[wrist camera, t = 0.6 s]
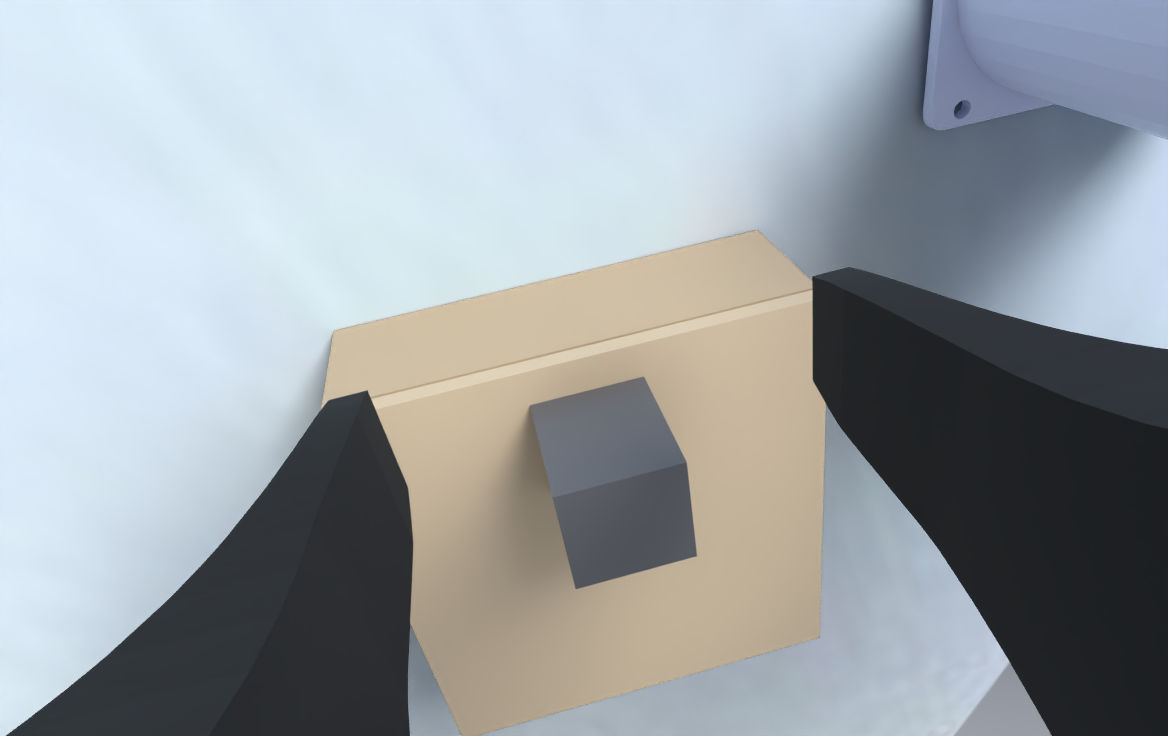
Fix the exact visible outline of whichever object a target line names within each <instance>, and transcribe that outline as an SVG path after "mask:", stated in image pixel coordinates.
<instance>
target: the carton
mask: <svg viewBox="0 0 1168 736" xmlns="http://www.w3.org/2000/svg"><path fill="white" fill-rule="evenodd" d="M810 290H812V280H811V279H810V278H808V277H807V276H806V275H805V274H804V273H803V272H802V271H801V270H800V269H799V268H798V267H797V266H796V265H795V264H794V263H792V262H791V261H790V260H789V259H788V258H787V257H786V256H785V255H784V254H783V253H782V252H781V251H780V250H779V249H778V248H777V247H775V246H774V245H773V244H772V243H771V242H770V241H769V240H768V239H767V238H766V237H765V236H764V235H763V234H762V233H761V232H759V231H758V230H755V231H751V232H747V233H742V234H738V235H734V236H730V237H726V238H722V239H717V240H713V241H709V242H705V243H701V244H696V245H692V246H688V247H684V248H680V249H675V250H671V251H667V252H663V253H659V254H655V255H650V256H646V257H642V258H638V259H634V260H629V261H625V262H621V263H617V264H613V265H608V266H604V267H600V268H596V269H592V270H588V271H583V272H579V273H575V274H571V275H567V276H562V277H558V278H554V279H550V280H546V281H541V282H537V283H533V284H529V285H525V286H520V287H516V288H512V289H508V290H504V291H500V292H495V293H491V294H487V295H483V296H479V297H474V298H470V299H466V300H462V301H458V302H453V303H449V304H445V305H441V306H437V307H433V308H428V309H424V310H420V311H416V312H412V313H407V314H403V315H399V316H395V317H391V318H386V319H382V320H378V321H374V322H370V323H365V324H361V325H357V326H353V327H349V328H345V329H340V330H336V331H334V333H333V339H332V345H331V351H330V357H329V363H328V369H327V375H326V381H325V387H324V393H323V399H322V405H321V409H322V408H323V406H324V405H325V404H326V403H327V401H328V400H331V399H335V398H339V397H343V396H347V395H351V394H355V393H359V392H363V391H366V390H368V393H369V395H370V397H371V399H373V398H377V397H381V396H385V395H389V394H393V393H397V392H402V391H406V390H410V389H414V388H418V387H422V386H426V385H430V384H434V383H438V382H442V381H446V380H450V379H454V378H458V377H462V376H466V375H470V374H474V373H478V372H482V371H487V370H491V369H495V368H499V367H503V366H507V365H511V364H515V363H519V362H523V361H527V360H531V359H535V358H539V357H543V356H547V355H551V354H555V353H559V352H563V351H567V350H572V349H576V348H580V347H584V346H588V345H592V344H596V343H600V342H604V341H608V340H612V339H616V338H620V337H624V336H628V335H632V334H636V333H640V332H644V331H648V330H652V329H657V328H661V327H665V326H669V325H673V324H677V323H681V322H685V321H689V320H693V319H697V318H701V317H705V316H709V315H713V314H717V313H721V312H725V311H729V310H733V309H737V308H742V307H746V306H750V305H754V304H758V303H762V302H766V301H770V300H774V299H778V298H782V297H786V296H790V295H794V294H798V293H802V292H806V291H810Z"/></svg>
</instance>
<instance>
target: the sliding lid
mask: <svg viewBox="0 0 1168 736" xmlns="http://www.w3.org/2000/svg"><path fill="white" fill-rule="evenodd" d="M371 400H372V402H373V405H374V407H375V409H376V412H377V414H378V417H379V419H380V421H381V424H382V426H383V429H384V431H385V433H386V436H387V438H388V441H389V443H390V445H391V448H392V450H393V453H394V455H395V457H396V460H397V462H398V465H399V467H400V469H401V472H402V474H403V477H404V479H405V481H406V484H407V486H408V491H409V500H410V510H411V520H412V532H413V569H412V592H411V613H410V624H411V627H412V629H413V631H414V633H415V635H416V638H417V640H418V642H419V644H420V646H421V648H422V651H423V653H424V655H425V657H426V659H427V662H428V664H429V666H430V668H431V670H432V672H433V675H434V677H435V679H436V681H437V683H438V686H439V688H440V690H441V692H442V694H443V696H444V699H445V701H446V703H447V705H448V707H449V710H450V712H451V714H452V716H453V718H454V721H455V723H456V725H457V727H458V729H459V731H460V734H461V736H479V735H482V734H485V733H489V732H492V731H496V730H499V729H503V728H506V727H510V726H513V725H517V724H520V723H524V722H527V721H531V720H534V719H538V718H541V717H545V716H548V715H552V714H555V713H559V712H562V711H566V710H569V709H573V708H576V707H580V706H583V705H587V704H590V703H594V702H597V701H601V700H604V699H607V698H611V697H614V696H618V695H621V694H625V693H628V692H632V691H635V690H639V689H642V688H646V687H649V686H653V685H656V684H660V683H663V682H667V681H670V680H674V679H677V678H681V677H684V676H688V675H691V674H695V673H698V672H702V671H705V670H709V669H712V668H716V667H719V666H723V665H726V664H729V663H733V662H736V661H740V660H743V659H747V658H750V657H754V656H757V655H761V654H764V653H768V652H771V651H775V650H778V649H782V648H785V647H789V646H792V645H796V644H799V643H803V642H806V641H810V640H813V639H817V638H820V606H821V569H822V532H823V495H824V459H825V422H826V403H825V401H824V399H823V398H822V396H821V394H820V392H819V391H818V389H817V387H816V385H815V384H814V382H813V314H812V290H810V291H806V292H802V293H798V294H794V295H790V296H786V297H782V298H778V299H774V300H770V301H766V302H762V303H758V304H754V305H750V306H746V307H742V308H737V309H733V310H729V311H725V312H721V313H717V314H713V315H709V316H705V317H701V318H697V319H693V320H689V321H685V322H681V323H677V324H673V325H669V326H665V327H661V328H657V329H652V330H648V331H644V332H640V333H636V334H632V335H628V336H624V337H620V338H616V339H612V340H608V341H604V342H600V343H596V344H592V345H588V346H584V347H580V348H576V349H572V350H567V351H563V352H559V353H555V354H551V355H547V356H543V357H539V358H535V359H531V360H527V361H523V362H519V363H515V364H511V365H507V366H503V367H499V368H495V369H491V370H487V371H482V372H478V373H474V374H470V375H466V376H462V377H458V378H454V379H450V380H446V381H442V382H438V383H434V384H430V385H426V386H422V387H418V388H414V389H410V390H406V391H402V392H397V393H393V394H389V395H385V396H381V397H377V398H373V399H371Z"/></svg>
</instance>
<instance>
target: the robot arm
mask: <svg viewBox="0 0 1168 736" xmlns="http://www.w3.org/2000/svg"><path fill="white" fill-rule="evenodd" d="M961 101H962V107H961V110H960V111H959V112H958V113H957V114H955V115H954V109H955V106H956V105H957V104H958V103H959V102H961ZM1054 104H1057V105H1060V106H1063V107H1066V108H1069V109H1073V110H1076V111H1079V112H1082V113H1085V114H1088V115H1092V116H1095V117H1098V118H1101V119H1104V120H1107V121H1111V122H1114V123H1117V124H1120V125H1123V126H1126V127H1130V128H1133V129H1136V130H1139V131H1142V132H1145V133H1149V134H1152V135H1155V136H1158V137H1161V138H1165V139H1168V0H933V9H932V20H931V31H930V42H929V53H928V63H927V74H926V85H925V96H924V106H923V121H924V122H925V124H926V125H927V126H929V127H931V128H933V129H935V130H947V129H951V128H955V127H960V126H964V125H968V124H973V123H977V122H981V121H986V120H990V119H994V118H998V117H1003V116H1007V115H1011V114H1016V113H1020V112H1024V111H1029V110H1033V109H1037V108H1041V107H1046V106H1050V105H1054ZM812 314H813V382H814V384H815V385H816V387H817V389H818V391H819V392H820V394H821V396H822V398H823V399H824V401H825V403H826V405H827V406H828V408H829V410H830V411H831V413H832V414H833V416H834V418H835V419H836V421H837V423H838V424H839V426H840V427H841V429H842V430H843V431H844V432H845V434H846V435H847V436H848V438H849V439H850V440H851V441H852V443H853V444H854V445H855V446H856V447H857V449H858V450H859V451H860V452H861V454H862V455H863V456H864V457H865V459H866V460H867V461H868V462H869V464H870V465H871V466H872V467H873V468H874V470H875V471H876V472H877V473H878V474H879V476H880V477H881V478H882V479H883V480H884V482H885V483H886V484H887V485H888V487H889V488H890V489H891V490H892V491H893V493H894V494H895V495H896V496H897V497H898V499H899V500H900V501H901V502H902V503H903V505H904V506H905V507H906V508H907V510H908V511H909V512H910V513H911V514H912V516H913V517H914V518H915V519H916V520H917V522H918V523H919V524H920V525H921V526H922V528H923V529H924V530H925V532H926V533H927V534H928V536H929V537H930V538H931V540H932V541H933V542H934V544H935V545H936V546H937V548H938V549H939V551H940V552H941V554H942V555H943V557H944V558H945V560H946V561H947V563H948V564H949V566H950V567H951V569H952V570H953V572H954V573H955V575H956V576H957V578H958V580H959V581H960V583H961V584H962V586H963V587H964V589H965V590H966V592H967V593H968V595H969V596H970V598H971V599H972V601H973V603H974V604H975V606H976V607H977V609H978V611H979V612H980V614H981V616H982V617H983V619H984V620H985V622H986V624H987V625H988V627H989V629H990V630H991V632H992V633H993V635H994V637H995V638H996V640H997V642H998V643H999V645H1000V646H1001V648H1002V650H1003V651H1004V653H1005V655H1006V656H1007V658H1008V660H1009V661H1010V663H1011V665H1012V667H1013V668H1014V670H1015V672H1016V674H1017V675H1018V677H1019V679H1020V680H1021V682H1022V684H1023V686H1024V687H1025V689H1026V691H1027V693H1028V694H1029V696H1030V698H1031V700H1032V701H1033V703H1034V705H1035V706H1036V708H1037V710H1038V712H1039V714H1040V715H1041V717H1042V719H1043V721H1044V722H1045V724H1046V726H1047V728H1048V729H1049V731H1050V733H1051V735H1052V736H1168V349H1161V348H1154V347H1148V346H1142V345H1136V344H1130V343H1124V342H1118V341H1113V340H1108V339H1104V338H1099V337H1094V336H1089V335H1084V334H1079V333H1074V332H1069V331H1065V330H1060V329H1056V328H1052V327H1048V326H1044V325H1040V324H1036V323H1032V322H1029V321H1025V320H1021V319H1018V318H1014V317H1010V316H1006V315H1003V314H999V313H996V312H992V311H989V310H986V309H982V308H979V307H976V306H973V305H969V304H966V303H963V302H960V301H957V300H954V299H951V298H947V297H944V296H941V295H938V294H935V293H932V292H929V291H926V290H923V289H920V288H917V287H914V286H911V285H908V284H905V283H902V282H899V281H896V280H893V279H890V278H887V277H883V276H880V275H877V274H874V273H870V272H867V271H863V270H859V269H854V268H850V267H848V268H844V269H840V270H836V271H832V272H828V273H824V274H820V275H816V276H813V277H812ZM412 569H413V532H412V520H411V510H410V500H409V491H408V486H407V484H406V481H405V479H404V477H403V474H402V472H401V469H400V467H399V465H398V462H397V460H396V457H395V455H394V453H393V450H392V448H391V445H390V443H389V441H388V438H387V436H386V433H385V431H384V429H383V426H382V424H381V421H380V419H379V417H378V414H377V412H376V409H375V407H374V405H373V402H372V400H371V397H370V395H369V393H368V390H366V391H363V392H359V393H355V394H351V395H347V396H343V397H339V398H335V399H331V400H328V401H327V403H326V404H325V405H324V406H323V408H322V409H321V411H320V412H319V413H318V415H317V416H316V418H315V419H314V420H313V422H312V423H311V425H310V426H309V428H308V429H307V431H306V432H305V434H304V435H303V437H302V438H301V439H300V441H299V442H298V444H297V445H296V447H295V448H294V450H293V451H292V452H291V454H290V455H289V457H288V458H287V459H286V461H285V462H284V464H283V465H282V466H281V468H280V469H279V471H278V472H277V473H276V475H275V476H274V478H273V479H272V480H271V482H270V483H269V485H268V486H267V487H266V489H265V490H264V491H263V492H262V494H261V495H260V496H259V497H258V499H257V500H256V501H255V502H254V504H253V505H252V506H251V507H250V509H249V510H248V511H247V512H246V514H245V515H244V516H243V517H242V519H241V520H240V521H239V522H238V524H237V525H236V526H235V527H234V529H233V530H232V531H231V532H230V534H229V535H228V536H227V537H226V539H225V540H224V541H223V542H222V543H221V544H220V545H219V547H218V548H217V549H216V550H215V551H214V552H213V553H212V554H211V556H210V557H209V558H208V559H207V560H206V561H205V562H204V563H203V564H202V565H201V567H200V568H199V569H198V570H197V571H196V572H195V573H194V574H193V575H192V576H191V577H190V578H189V579H188V580H187V581H186V582H185V583H184V584H183V585H182V586H181V587H180V588H179V589H178V590H177V592H176V593H174V594H173V595H172V596H171V597H170V598H169V599H168V600H167V601H166V602H165V603H164V604H163V605H162V606H161V607H160V608H159V609H158V610H157V611H156V612H155V613H153V614H152V615H151V616H150V617H149V618H148V619H147V620H146V621H145V622H144V623H142V624H141V625H140V626H139V627H138V628H137V629H136V630H135V631H134V632H133V633H132V634H130V635H129V636H128V637H127V638H126V639H125V640H124V641H123V642H122V643H121V644H119V645H118V646H117V647H116V648H115V649H114V650H113V651H112V652H111V653H110V654H109V655H107V656H106V657H105V658H104V659H103V660H101V661H100V662H99V663H98V664H97V665H96V666H94V667H93V668H92V669H91V670H89V671H88V672H87V673H86V674H85V675H83V676H82V677H81V678H80V679H78V680H77V681H76V682H75V683H74V684H72V685H71V686H70V687H69V688H68V689H66V690H65V691H64V692H62V693H61V694H60V695H59V696H57V697H56V698H55V699H53V700H52V701H51V702H50V703H48V704H47V705H46V706H44V707H43V708H42V709H41V710H39V711H38V712H37V713H35V714H34V715H33V716H32V717H30V718H29V719H28V720H26V721H25V722H24V723H22V724H21V725H20V726H18V727H17V728H16V729H14V730H13V731H12V732H10V733H9V734H8V735H6V736H410V731H409V715H408V655H409V634H410V613H411V592H412Z"/></svg>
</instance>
